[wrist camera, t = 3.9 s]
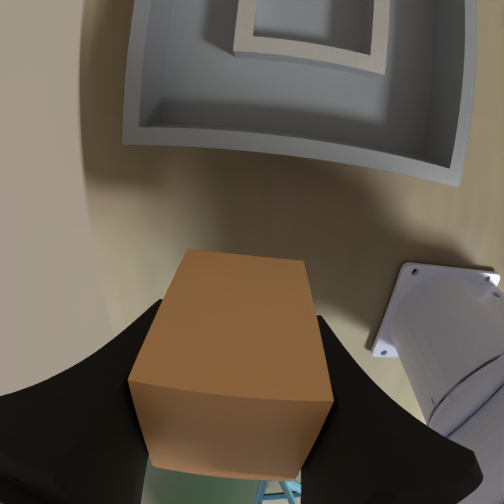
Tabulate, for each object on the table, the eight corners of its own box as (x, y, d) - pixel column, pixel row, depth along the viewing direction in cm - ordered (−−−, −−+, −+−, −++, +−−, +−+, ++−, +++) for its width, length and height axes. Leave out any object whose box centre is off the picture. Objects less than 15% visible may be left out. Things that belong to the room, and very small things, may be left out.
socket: (378, -30, 11) (390, -42, 9) (371, 77, 14) (384, 74, 12) (249, -52, 11) (248, -68, 9) (236, 57, 14) (232, 50, 12)
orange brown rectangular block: (303, 260, 11) (334, 401, 6) (286, 347, 13) (294, 480, 7) (187, 249, 11) (127, 379, 6) (188, 338, 13) (153, 466, 7)
